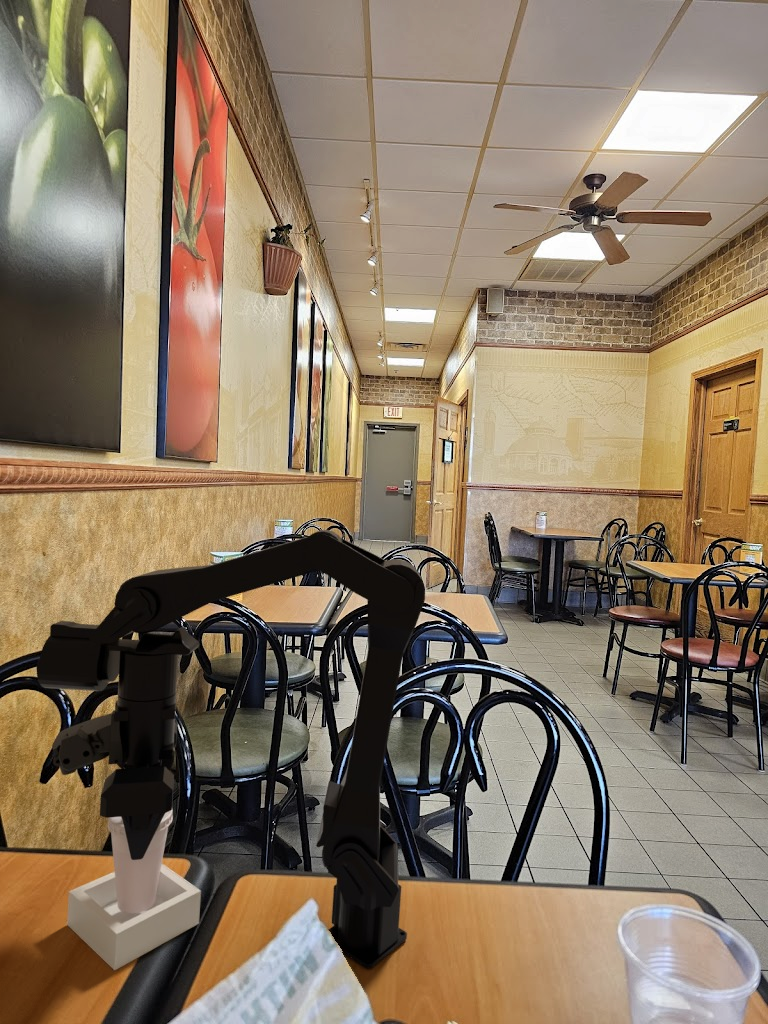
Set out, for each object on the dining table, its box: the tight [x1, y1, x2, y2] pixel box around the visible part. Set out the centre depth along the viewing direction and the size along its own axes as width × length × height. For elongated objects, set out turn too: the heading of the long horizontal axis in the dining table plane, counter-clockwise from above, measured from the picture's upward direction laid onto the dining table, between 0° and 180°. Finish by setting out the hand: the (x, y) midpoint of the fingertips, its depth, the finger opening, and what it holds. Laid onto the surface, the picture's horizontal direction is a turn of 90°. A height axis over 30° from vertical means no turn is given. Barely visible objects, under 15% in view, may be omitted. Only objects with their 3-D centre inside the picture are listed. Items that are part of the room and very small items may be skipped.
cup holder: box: [66, 863, 202, 971], centre depth 68 cm, size 9×9×4 cm
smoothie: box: [107, 808, 174, 913], centre depth 68 cm, size 6×6×14 cm
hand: (139, 841), depth 67 cm, fingers closed on smoothie, 6 cm apart
